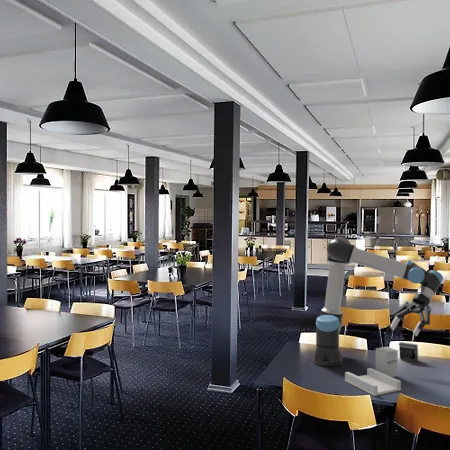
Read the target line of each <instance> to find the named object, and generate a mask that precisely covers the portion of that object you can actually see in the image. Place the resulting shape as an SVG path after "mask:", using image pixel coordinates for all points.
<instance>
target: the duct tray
mask: <svg viewBox="0 0 450 450" xmlns="http://www.w3.org/2000/svg"><path fill="white" fill-rule="evenodd" d="M344 381H345V382H346V383H348V384H350V385H352V386H354V387H356V388H358V389H360V390H362V391H364V392H366V393H368V394H369V395H372V396H374V397H375V396H379V395H384V394H389V393H393V392H398V391H401V389H402V381H401V380H399V379H397V378H395V377H390V376H388V375H386V374H383V373H381V372H379V371H377V370H376V369H375V368H371V367H369V368H367V369H366V374H363V375H359V376H358V375H356V374H354V373H352V372H351V371H350V372H349V371H346V372H344Z"/></svg>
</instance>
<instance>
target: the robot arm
mask: <svg viewBox="0 0 450 450" xmlns="http://www.w3.org/2000/svg"><path fill="white" fill-rule="evenodd" d="M326 251H327V258H326V259H327V261H326V262H328V264H329V267H328V268H329V269H328V275H327V276H328V277H327V281H326V282H327V284H326V291H325V299H324V306H323V308H321V311H320V315H319V316H317V318H316V321H315V326H316V327H315V337H316V338H315V350H314V353H313V355H312V362H313V363H314V364H315V365H318V366H322V367H338V366H342V365H343V356H342V353H341V350H340V332H341V329H342V327H343V315H344V312H343V310H342V309H341V308H342V307H341V306H342V301H343V299H342V298H343V291H344V285H345V284H344V283H345V275H346V267H347V266H348V265H349V264H351V263H354V264H357V265H359V266H363V267H366V268H370V269H373V270H375V271H379V272H382V273H385V274H388V275H391V276H395V277H398V278H400V279H403V280H407V281H409V282H411V283H413V284H420V286H419V288H418V290H417V291H416V293H415V295H414V297H413V298H412V302H408V301H405V303H404V304H403V305H401V306H400V307H399V308H398V309H396V310H395V311H394V312H392V315H393V317H394V318H393V319H392V321H391V324H390V326H389V328H390V329H391V330H392V331H395V329H396V327H397V326H398V324H399V322H400V320H401V319H402V318H403V317H405V316H407V315H409V314H412V313H414V314H418V316H419V319H420V321H418V323H417V324H416V326H415V328H414V330H412V333H413V335H414V336H415V337H417V336H418V335H419V333H420V332H421V331H422V330H423V329H424V327H425V326H426V325H428V326H429V325H430V324H431V312H432V308H431V306H430V304H431V302H432V299H433V298H434V296H435V294H436V293H437V291H438V290H439V287H440V286H441V284H442V282H443V281H444V276H443V274H442V273H441V272H439V271H436V270H432V269H431V270H429V271H427V270H425V269H424V268H422V266H420V265H418V264H417V263H415V262H413V261H412V260H407V261H406V262H402V261H399V260H396V259H392V258H389V257H385V256H384V255H379V254H377V253H374V252H370V251H367V250H363V249H360V248H359V247H358V248H357V246H356V245H355V244H351V242H350V241H349V239H347V238H346V237H344V236H343V237H342V236H338V237H335V238H333V239H331V240H330V241H329V242H328V243H327V245H326ZM424 311H425V313H424Z"/></svg>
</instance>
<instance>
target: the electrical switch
mask: <svg viewBox="0 0 450 450" xmlns="http://www.w3.org/2000/svg"><path fill="white" fill-rule="evenodd" d="M418 346H419V345H418V344H416V343H409V342H402V341H400V342H399V343H398V347H399V349H398V352H399V358H400V359H399V360H401V361H408V362H412V363H416V362H417V361H419V347H418Z"/></svg>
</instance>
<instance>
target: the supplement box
mask: <svg viewBox="0 0 450 450" xmlns="http://www.w3.org/2000/svg"><path fill="white" fill-rule="evenodd" d="M398 354H399V349H396V348H392V347H390V346H389V347H388V346H383V347H377V348H375V370H377V371H379V372H381V373H383V374H386V375H388V376H390V377H393V378H395V377H398V374H399V373H398V368H399V367H398V364H399V361H398V360H399V359H398V357H399V355H398Z"/></svg>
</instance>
